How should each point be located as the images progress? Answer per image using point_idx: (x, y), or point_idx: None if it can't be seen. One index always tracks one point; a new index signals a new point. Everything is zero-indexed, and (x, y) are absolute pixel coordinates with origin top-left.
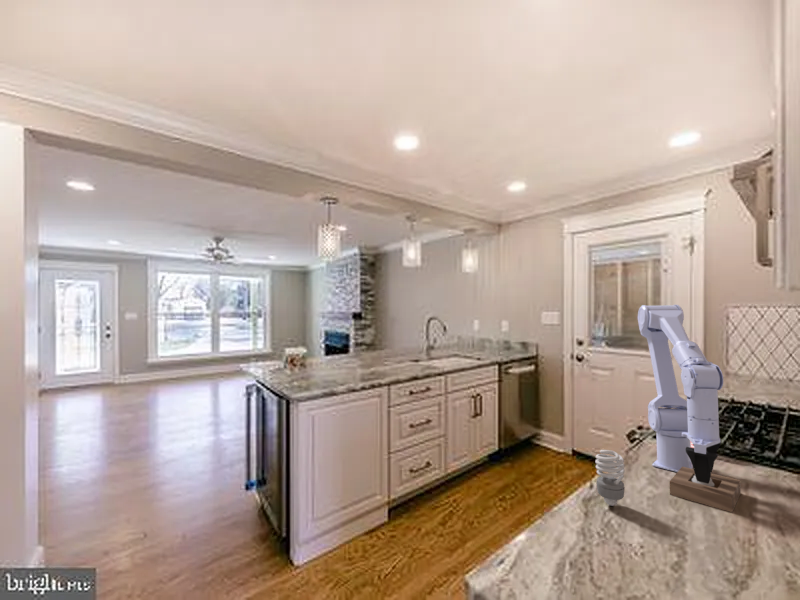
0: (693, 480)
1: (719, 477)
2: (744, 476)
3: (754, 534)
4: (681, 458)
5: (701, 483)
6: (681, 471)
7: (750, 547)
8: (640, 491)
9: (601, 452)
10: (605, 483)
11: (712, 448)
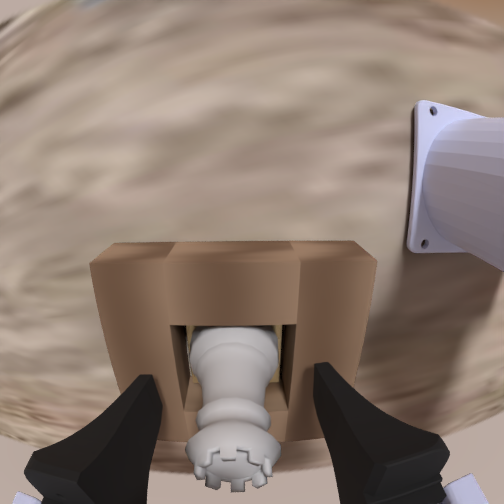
0: (206, 338)
1: None
2: (472, 368)
3: (75, 427)
4: (465, 241)
5: (192, 367)
6: (291, 275)
7: (22, 412)
8: (58, 147)
9: None
10: None
11: (345, 499)
